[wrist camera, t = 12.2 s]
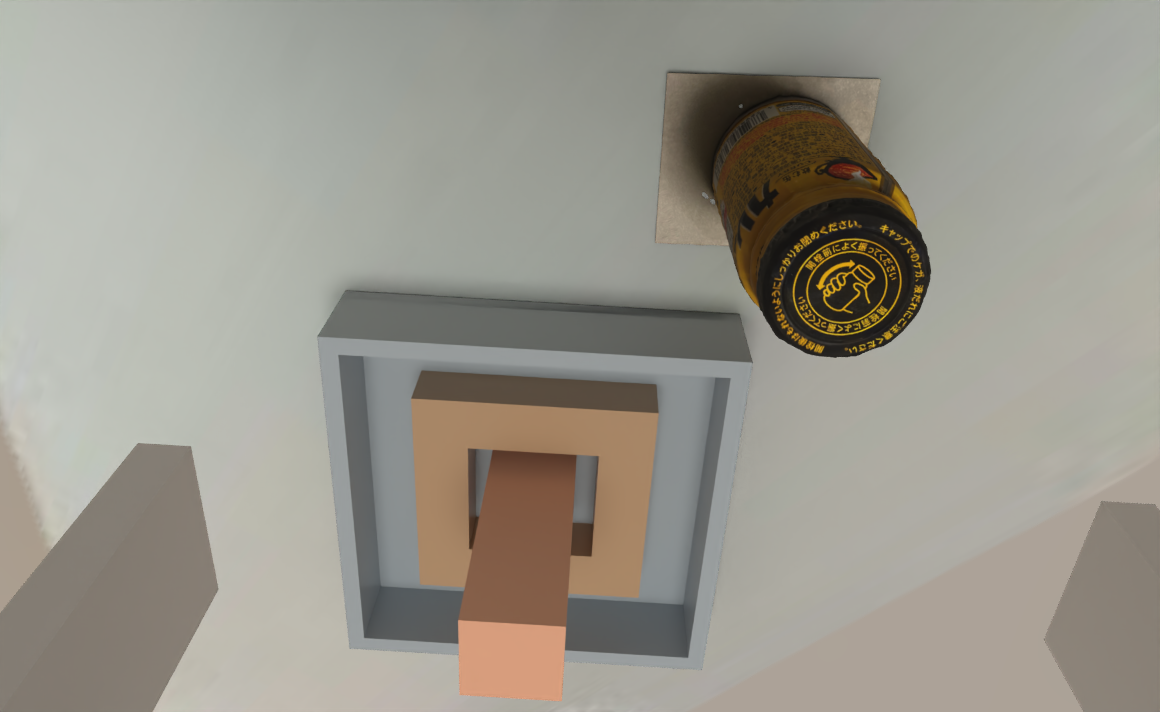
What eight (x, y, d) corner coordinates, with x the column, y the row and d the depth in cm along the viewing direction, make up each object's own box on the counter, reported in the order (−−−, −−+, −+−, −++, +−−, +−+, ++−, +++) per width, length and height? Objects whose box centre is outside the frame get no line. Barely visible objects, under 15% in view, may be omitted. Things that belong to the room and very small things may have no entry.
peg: (495, 437, 44) (457, 620, 33) (577, 442, 44) (565, 626, 33) (495, 502, 46) (459, 694, 35) (573, 507, 46) (561, 701, 35)
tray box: (345, 290, 41) (317, 336, 37) (739, 314, 41) (752, 362, 37) (370, 585, 50) (349, 648, 46) (695, 606, 50) (702, 670, 46)
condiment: (848, 248, 39) (933, 389, 29) (654, 241, 40) (669, 380, 29) (879, 78, 36) (989, 168, 25) (666, 70, 36) (688, 158, 26)
